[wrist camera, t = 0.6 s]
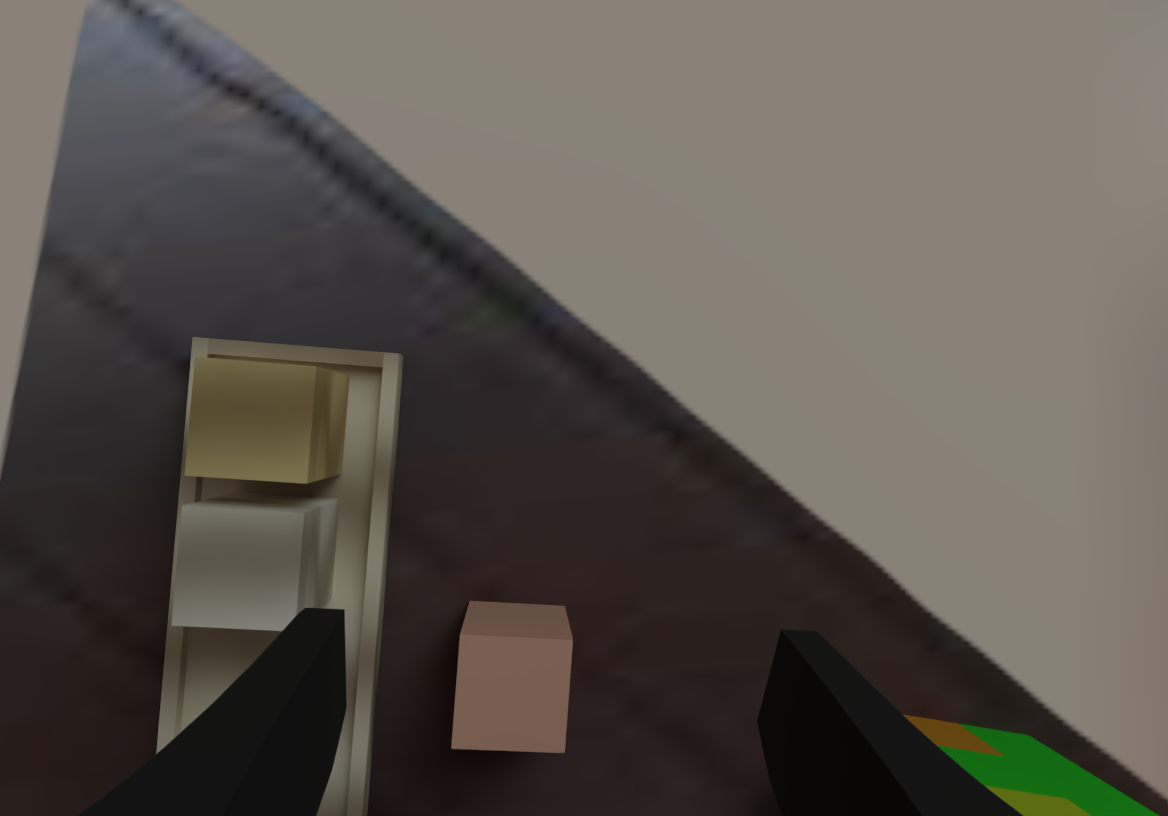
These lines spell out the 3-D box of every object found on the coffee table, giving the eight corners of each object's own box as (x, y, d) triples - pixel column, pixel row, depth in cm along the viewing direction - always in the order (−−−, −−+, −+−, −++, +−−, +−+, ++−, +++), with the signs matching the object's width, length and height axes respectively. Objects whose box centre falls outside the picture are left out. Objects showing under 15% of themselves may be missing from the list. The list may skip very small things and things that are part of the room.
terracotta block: (557, 700, 32) (564, 752, 27) (462, 696, 31) (451, 748, 26) (564, 605, 32) (572, 640, 27) (469, 600, 31) (460, 634, 26)
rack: (353, 989, 31) (315, 1115, 25) (149, 987, 30) (64, 1116, 24) (403, 356, 31) (378, 342, 26) (205, 340, 31) (135, 322, 25)
